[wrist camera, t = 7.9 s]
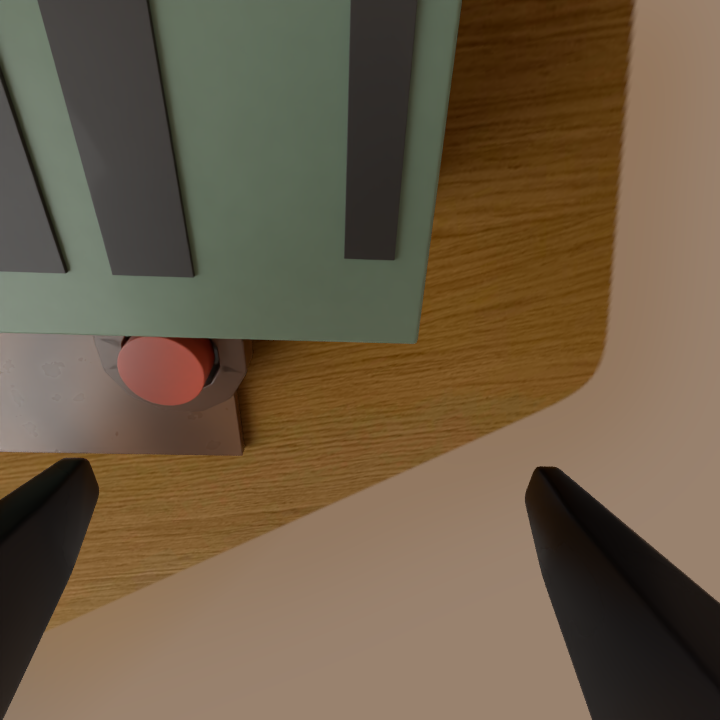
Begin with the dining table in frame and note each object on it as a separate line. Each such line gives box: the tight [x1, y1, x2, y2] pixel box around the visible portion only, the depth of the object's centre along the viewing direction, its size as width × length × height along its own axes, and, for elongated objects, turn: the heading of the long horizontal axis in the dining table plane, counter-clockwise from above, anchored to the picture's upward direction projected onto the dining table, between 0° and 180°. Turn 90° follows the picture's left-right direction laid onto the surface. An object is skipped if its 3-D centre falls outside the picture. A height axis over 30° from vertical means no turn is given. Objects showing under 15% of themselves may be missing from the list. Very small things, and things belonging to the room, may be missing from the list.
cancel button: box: [117, 336, 215, 405], centre depth 20 cm, size 4×4×2 cm
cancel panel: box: [0, 333, 253, 456], centre depth 22 cm, size 19×11×2 cm, turn 88°
